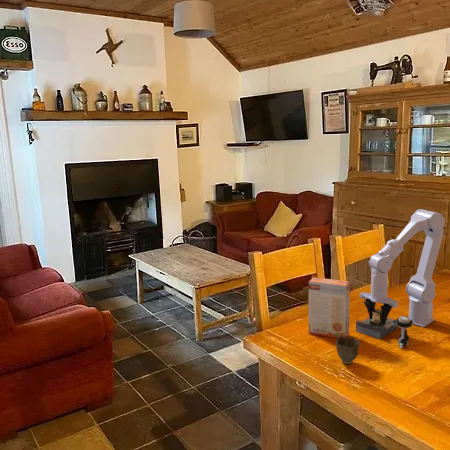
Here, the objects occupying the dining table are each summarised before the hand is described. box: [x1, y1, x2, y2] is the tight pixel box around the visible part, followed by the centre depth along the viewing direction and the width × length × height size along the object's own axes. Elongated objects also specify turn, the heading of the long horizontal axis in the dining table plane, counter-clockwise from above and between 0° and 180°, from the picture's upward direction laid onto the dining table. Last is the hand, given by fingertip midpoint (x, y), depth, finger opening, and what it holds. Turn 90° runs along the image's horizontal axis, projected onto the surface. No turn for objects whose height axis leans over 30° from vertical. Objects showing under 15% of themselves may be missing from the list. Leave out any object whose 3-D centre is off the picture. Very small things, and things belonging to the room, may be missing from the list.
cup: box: [335, 335, 361, 366], centre depth 148 cm, size 8×7×8 cm
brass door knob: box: [371, 308, 383, 326], centre depth 172 cm, size 5×5×6 cm
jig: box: [355, 316, 400, 340], centre depth 172 cm, size 14×10×4 cm
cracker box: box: [308, 276, 351, 339], centre depth 168 cm, size 14×6×21 cm, turn 61°
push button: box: [395, 315, 413, 349], centre depth 158 cm, size 7×5×10 cm
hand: (377, 320), depth 172 cm, fingers closed on brass door knob, 4 cm apart
